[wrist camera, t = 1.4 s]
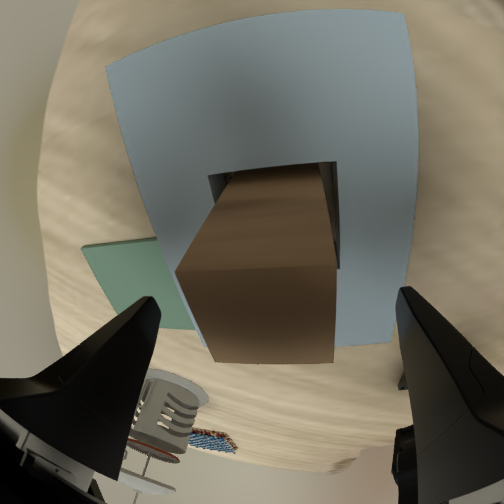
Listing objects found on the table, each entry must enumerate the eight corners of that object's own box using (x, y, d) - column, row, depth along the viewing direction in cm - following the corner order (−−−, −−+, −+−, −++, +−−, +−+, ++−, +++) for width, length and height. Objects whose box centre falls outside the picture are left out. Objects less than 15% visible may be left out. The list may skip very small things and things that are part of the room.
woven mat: (227, 429, 40) (225, 439, 39) (240, 446, 46) (238, 454, 44) (172, 420, 43) (169, 429, 41) (192, 438, 48) (190, 446, 47)
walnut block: (323, 234, 17) (333, 362, 9) (250, 239, 18) (214, 362, 10) (317, 162, 14) (336, 263, 7) (236, 170, 15) (174, 272, 8)
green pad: (208, 326, 23) (206, 330, 23) (125, 321, 25) (124, 324, 25) (172, 236, 18) (170, 239, 18) (83, 246, 20) (80, 248, 20)
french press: (170, 405, 37) (125, 544, 16) (115, 362, 31) (48, 519, 11) (223, 405, 33) (181, 571, 13) (166, 357, 28) (93, 561, 7)
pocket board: (384, 317, 20) (390, 342, 18) (211, 323, 23) (204, 346, 21) (387, 22, 9) (403, 13, 7) (130, 65, 12) (105, 66, 10)
